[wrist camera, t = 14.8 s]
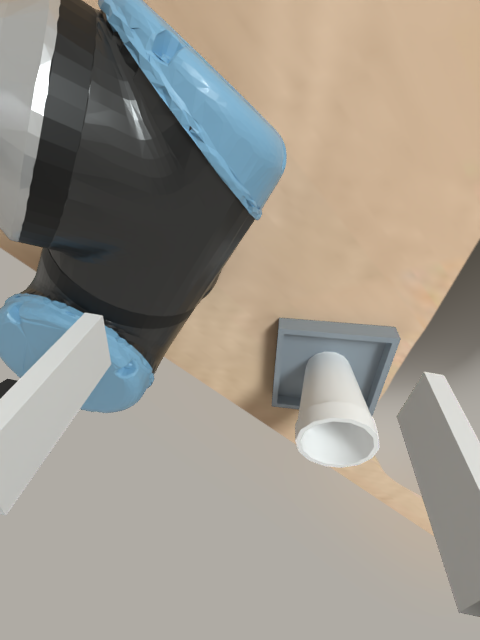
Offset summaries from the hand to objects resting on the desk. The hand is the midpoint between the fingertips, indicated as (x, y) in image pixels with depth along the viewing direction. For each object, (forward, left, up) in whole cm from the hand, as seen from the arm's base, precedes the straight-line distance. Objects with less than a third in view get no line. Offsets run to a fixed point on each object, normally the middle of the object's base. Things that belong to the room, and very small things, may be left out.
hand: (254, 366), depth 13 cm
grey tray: (+9, -24, -28) cm, 38 cm away
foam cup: (+9, -24, -27) cm, 37 cm away
